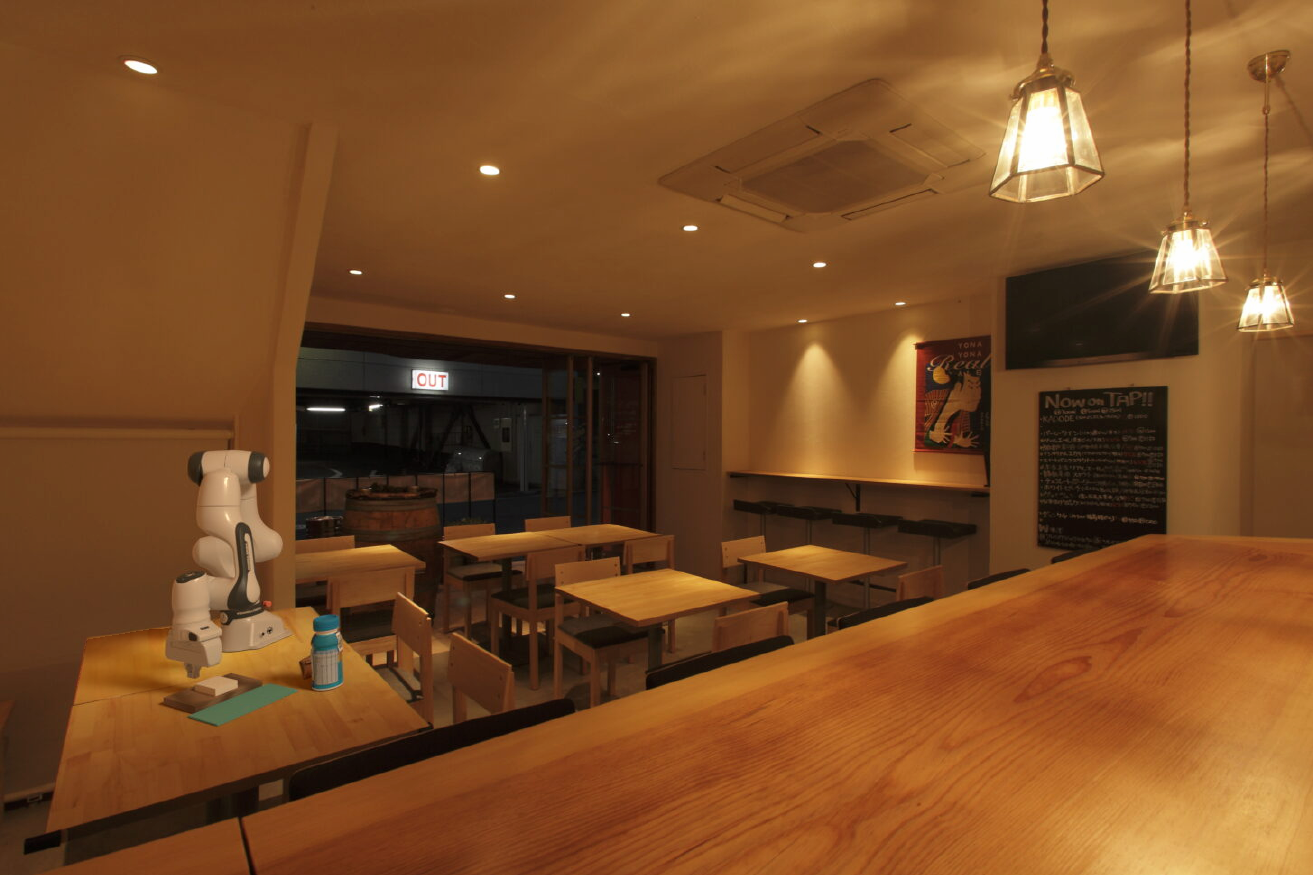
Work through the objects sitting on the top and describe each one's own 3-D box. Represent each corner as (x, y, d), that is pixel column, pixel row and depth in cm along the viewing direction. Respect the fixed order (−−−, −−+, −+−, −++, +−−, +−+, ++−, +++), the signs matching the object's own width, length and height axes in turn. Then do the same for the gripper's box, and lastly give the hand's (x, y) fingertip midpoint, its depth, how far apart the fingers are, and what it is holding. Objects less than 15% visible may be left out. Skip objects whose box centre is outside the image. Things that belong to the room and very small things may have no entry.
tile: (217, 682, 181) (217, 675, 181) (237, 687, 177) (237, 680, 177) (195, 690, 176) (194, 683, 175) (215, 696, 172) (215, 689, 172)
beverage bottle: (321, 694, 177) (319, 624, 176) (305, 687, 181) (303, 619, 181) (350, 683, 184) (348, 616, 183) (333, 677, 189) (331, 611, 188)
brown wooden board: (231, 679, 188) (231, 672, 188) (262, 686, 182) (262, 680, 182) (163, 704, 171) (163, 697, 171) (195, 713, 166) (195, 706, 166)
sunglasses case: (296, 661, 201) (308, 641, 203) (318, 667, 205) (329, 648, 207) (303, 680, 187) (316, 658, 189) (326, 687, 190) (339, 665, 192)
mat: (269, 684, 184) (269, 682, 184) (297, 691, 179) (297, 689, 179) (188, 717, 164) (188, 715, 164) (217, 726, 159) (217, 724, 159)
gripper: (157, 628, 181) (159, 676, 182) (202, 637, 173) (204, 686, 174) (181, 622, 187) (182, 668, 188) (226, 630, 179) (227, 678, 180)
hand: (193, 677), depth 181 cm, fingers closed
